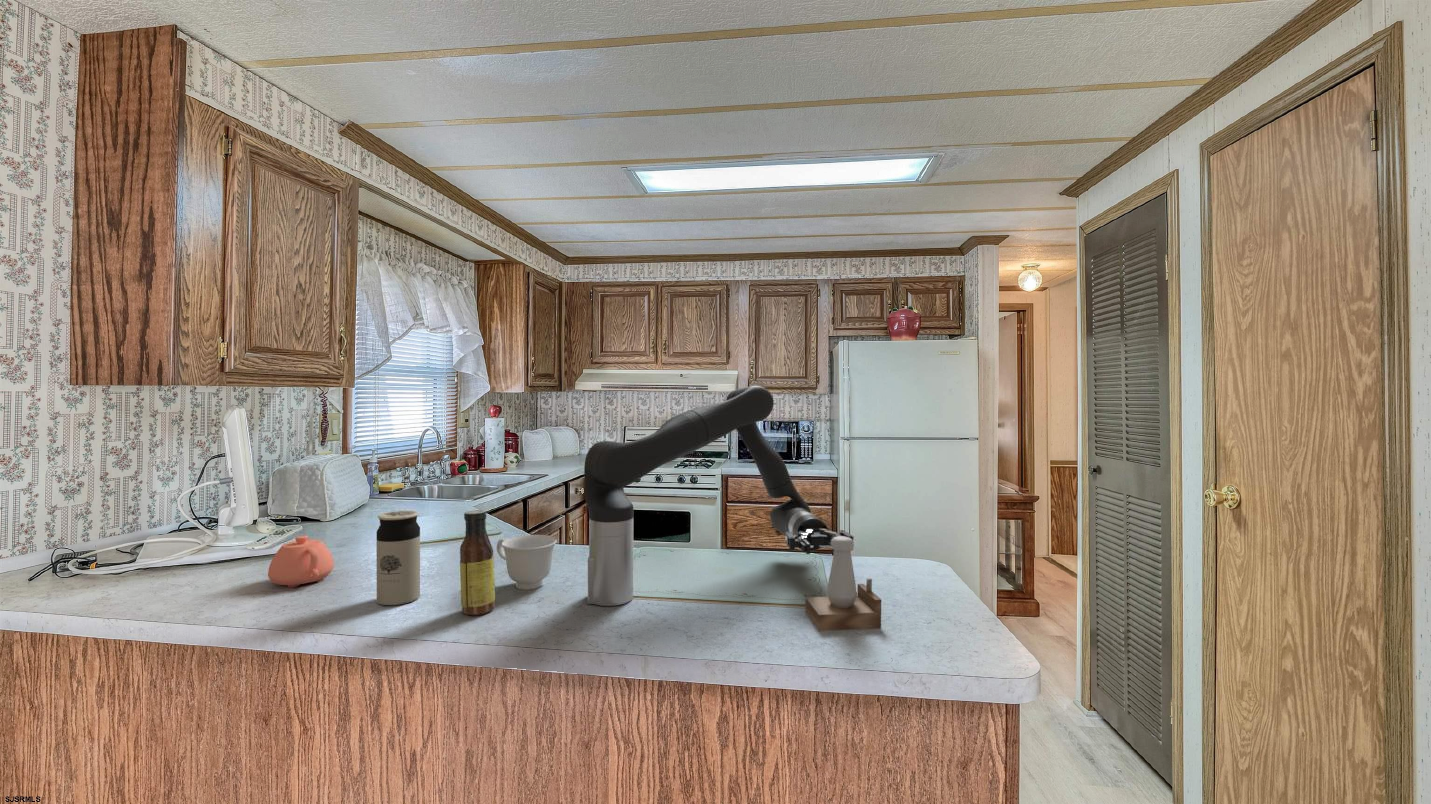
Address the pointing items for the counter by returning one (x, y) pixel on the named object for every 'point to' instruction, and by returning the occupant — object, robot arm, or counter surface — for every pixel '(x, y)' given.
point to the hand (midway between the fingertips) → (828, 548)
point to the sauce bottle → (476, 566)
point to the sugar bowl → (300, 562)
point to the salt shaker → (842, 574)
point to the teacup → (527, 558)
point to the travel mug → (398, 558)
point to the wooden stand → (846, 611)
